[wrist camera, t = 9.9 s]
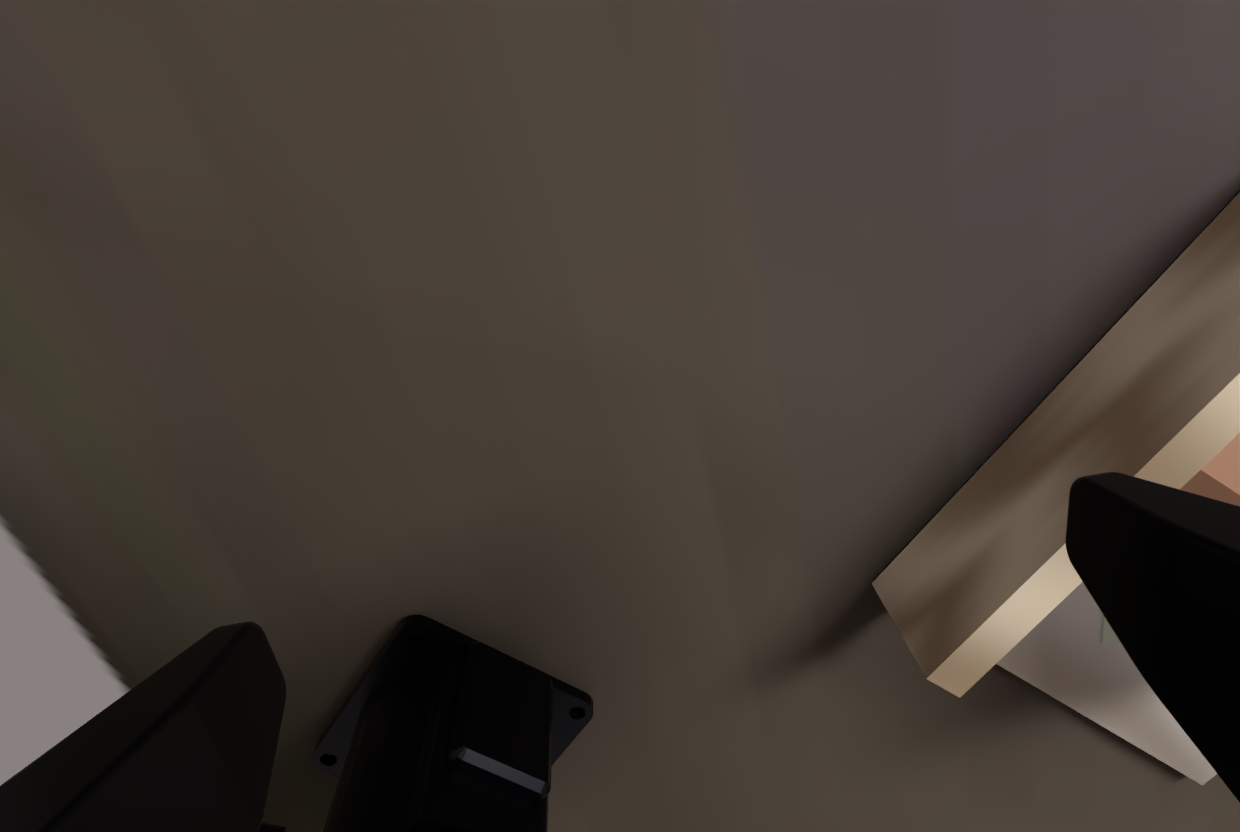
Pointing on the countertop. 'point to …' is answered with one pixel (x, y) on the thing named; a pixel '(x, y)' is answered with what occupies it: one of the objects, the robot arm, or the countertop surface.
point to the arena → (1039, 495)
